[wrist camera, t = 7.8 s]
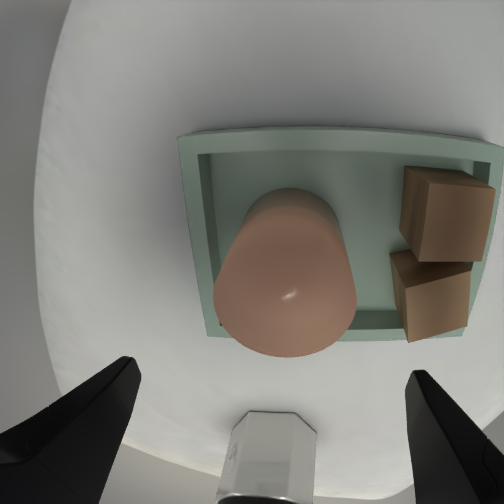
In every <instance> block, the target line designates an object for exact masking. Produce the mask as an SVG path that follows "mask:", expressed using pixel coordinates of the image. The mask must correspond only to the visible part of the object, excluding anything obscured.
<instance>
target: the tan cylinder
mask: <svg viewBox="0 0 504 504" xmlns="http://www.w3.org/2000/svg"><path fill="white" fill-rule="evenodd" d="M213 303H214V308H215V312H216V314H217V317H218V319H219V321H220V323H221V324H222V326H223V327H224V328H225V330H226V331H227V332H228V333H229V334H230V335H231V336H232V337H233V338H234V339H235V340H237V341H238V342H239V343H241V344H242V345H244V346H245V347H247V348H249V349H251V350H254V351H256V352H259V353H262V354H266V355H270V356H276V357H299V356H305V355H309V354H312V353H316V352H318V351H321V350H323V349H325V348H327V347H328V346H330V345H332V344H333V343H334V342H336V341H337V340H338V339H339V338H340V337H341V336H342V335H343V334H344V333H345V332H346V330H347V329H348V328H349V326H350V324H351V323H352V321H353V318H354V315H355V312H356V307H357V295H356V289H355V284H354V280H353V275H352V271H351V267H350V263H349V259H348V255H347V251H346V247H345V243H344V239H343V235H342V232H341V228H340V224H339V221H338V218H337V216H336V214H335V212H334V211H333V209H332V208H331V206H330V205H329V204H328V203H327V202H326V201H325V200H323V199H322V198H321V197H319V196H318V195H316V194H314V193H312V192H310V191H307V190H304V189H298V188H282V189H277V190H274V191H271V192H269V193H267V194H265V195H263V196H262V197H260V198H259V199H257V200H256V201H255V202H254V203H253V204H252V206H251V207H250V208H249V210H248V211H247V213H246V215H245V217H244V219H243V221H242V224H241V226H240V228H239V230H238V232H237V234H236V237H235V239H234V241H233V243H232V245H231V248H230V250H229V252H228V254H227V256H226V259H225V261H224V263H223V265H222V268H221V270H220V272H219V274H218V277H217V279H216V281H215V285H214V289H213Z"/></svg>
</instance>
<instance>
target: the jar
mask: <svg viewBox="0 0 504 504" xmlns="http://www.w3.org/2000/svg"><path fill="white" fill-rule="evenodd" d="M315 458H316V433H315V432H314V431H313V430H312V429H311V428H310V427H309V426H308V425H307V424H306V423H305V422H304V421H303V420H301V419H300V418H299V417H298V416H297V415H296V414H294V413H267V412H249V413H248V414H247V415H246V416H245V417H244V418H243V419H242V420H241V421H240V422H239V423H238V424H237V425H236V426H235V427H234V429H233V430H232V433H231V437H230V442H229V446H228V450H227V454H226V458H225V462H224V466H223V470H222V474H221V479H220V482H219V487H218V490H217V494H216V498H215V503H216V504H313V492H314V476H315Z"/></svg>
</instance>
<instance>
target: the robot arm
mask: <svg viewBox="0 0 504 504" xmlns="http://www.w3.org/2000/svg"><path fill="white" fill-rule="evenodd" d="M140 382H141V372H140V370H139V368H138V365H137V363H136V360H135V359H134V358H133V357H128V356H122V357H120V358H119V359H117V360H116V361H115V362H113V363H112V364H110V365H109V366H107V367H106V368H104V369H103V370H101V371H100V372H98V373H97V374H95V375H94V376H92V377H91V378H89V379H88V380H86V381H85V382H83V383H82V384H80V385H79V386H77V387H76V388H75V389H73V390H72V391H70V392H69V393H67V394H66V395H64V396H63V397H61V398H60V399H58V400H57V401H55V402H54V403H52V404H51V405H49V407H46V408H45V409H43V410H41V411H40V412H38V413H37V414H35V415H34V416H32V417H30V418H29V419H27V420H25V421H23V422H21V423H20V424H18V425H16V426H14V427H12V428H10V429H8V430H6V431H4V432H3V433H0V504H99V501H100V498H101V495H102V492H103V490H104V487H105V484H106V481H107V478H108V476H109V473H110V470H111V468H112V465H113V462H114V459H115V457H116V454H117V451H118V449H119V446H120V444H121V441H122V438H123V436H124V433H125V431H126V428H127V425H128V423H129V420H130V417H131V414H132V411H133V407H134V404H135V400H136V396H137V393H138V389H139V385H140ZM405 400H406V415H407V434H408V442H409V448H410V455H411V462H412V470H413V478H414V487H415V497H416V504H504V455H503V454H502V453H501V452H500V451H499V449H498V448H497V447H496V446H495V445H494V444H493V443H492V442H491V441H490V440H489V439H487V436H486V435H485V434H484V433H483V432H482V431H481V430H480V428H479V427H478V426H477V425H476V424H475V423H474V422H473V421H472V420H471V419H470V417H469V416H468V415H467V414H466V413H465V412H464V411H463V410H462V409H461V408H460V406H459V405H458V404H457V403H456V402H455V401H454V400H453V399H452V398H451V397H450V396H449V395H448V394H447V392H446V391H445V390H444V389H443V388H442V387H441V386H440V385H439V384H438V383H437V382H436V381H435V380H434V379H433V378H432V377H431V376H430V374H429V373H428V372H427V371H425V370H414V371H412V373H411V375H410V378H409V380H408V383H407V385H406V389H405Z"/></svg>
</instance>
